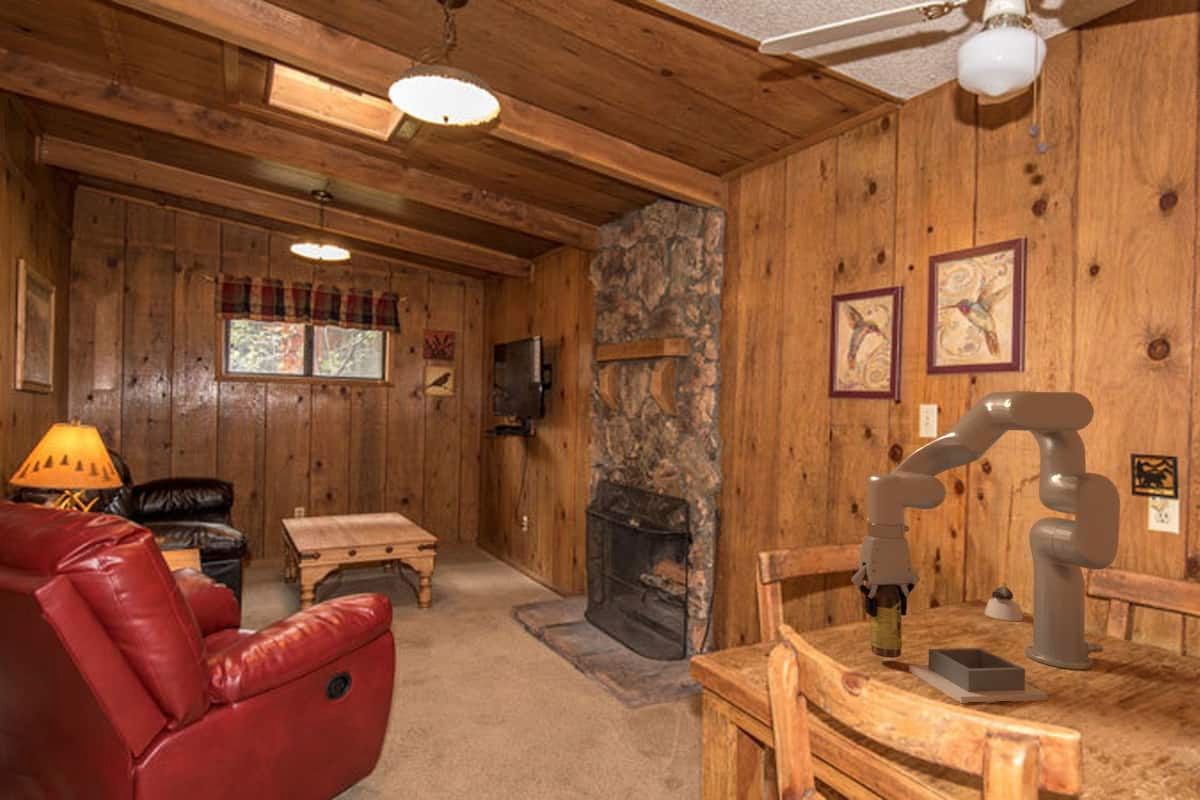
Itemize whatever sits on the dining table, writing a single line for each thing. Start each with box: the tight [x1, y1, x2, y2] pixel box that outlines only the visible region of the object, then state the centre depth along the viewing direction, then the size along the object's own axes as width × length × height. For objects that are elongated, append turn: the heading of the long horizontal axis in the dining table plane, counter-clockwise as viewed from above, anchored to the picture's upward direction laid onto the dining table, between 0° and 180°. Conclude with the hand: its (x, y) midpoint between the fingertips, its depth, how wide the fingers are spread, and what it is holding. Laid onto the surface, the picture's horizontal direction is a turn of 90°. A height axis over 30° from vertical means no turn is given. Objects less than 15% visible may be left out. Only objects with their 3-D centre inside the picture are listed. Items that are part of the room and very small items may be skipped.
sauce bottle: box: [869, 585, 903, 659], centre depth 146 cm, size 7×6×20 cm
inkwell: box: [984, 585, 1024, 622], centre depth 181 cm, size 9×18×10 cm, turn 154°
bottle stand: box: [908, 647, 1048, 704], centre depth 135 cm, size 18×16×5 cm
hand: (885, 613), depth 146 cm, fingers closed on sauce bottle, 6 cm apart
